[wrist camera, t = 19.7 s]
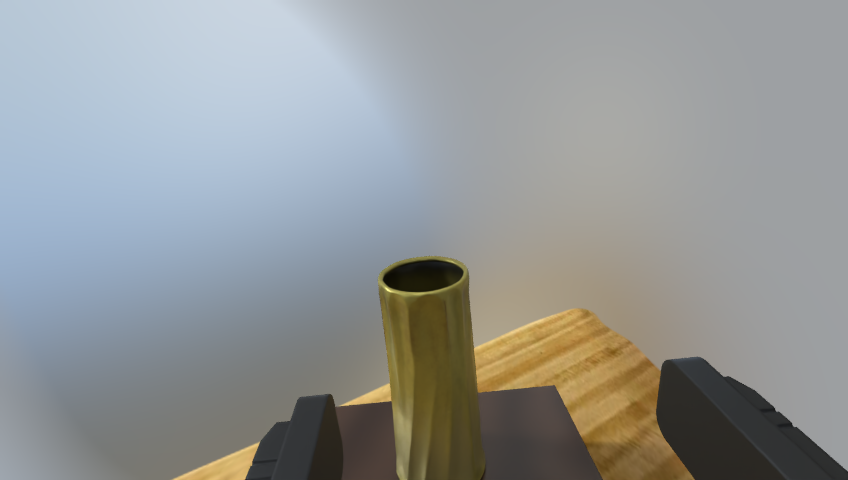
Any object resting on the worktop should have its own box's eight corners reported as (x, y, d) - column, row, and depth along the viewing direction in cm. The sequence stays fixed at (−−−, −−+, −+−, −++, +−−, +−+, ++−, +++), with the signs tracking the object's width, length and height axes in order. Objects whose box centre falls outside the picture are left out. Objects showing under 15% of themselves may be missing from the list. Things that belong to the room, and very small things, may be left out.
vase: (383, 449, 31) (356, 268, 26) (457, 417, 33) (445, 245, 28) (418, 520, 25) (393, 310, 21) (504, 476, 28) (499, 278, 23)
